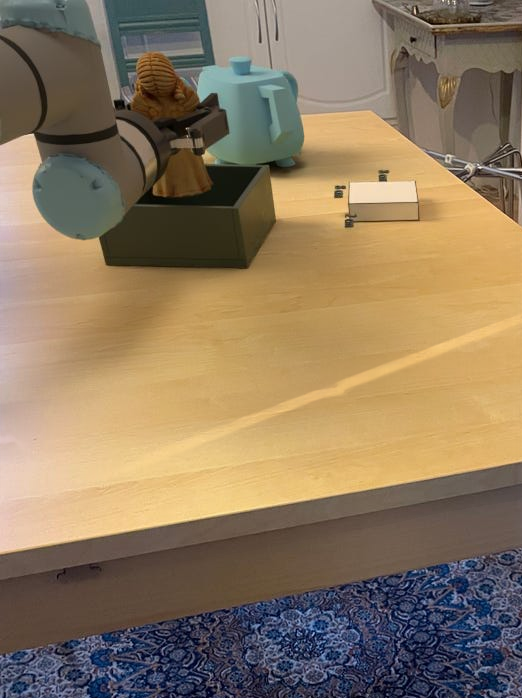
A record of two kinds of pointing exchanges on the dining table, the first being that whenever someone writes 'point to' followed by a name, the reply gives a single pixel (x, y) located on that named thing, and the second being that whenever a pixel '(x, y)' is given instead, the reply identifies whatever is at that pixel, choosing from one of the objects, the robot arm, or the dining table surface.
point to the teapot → (254, 113)
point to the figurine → (171, 101)
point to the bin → (197, 223)
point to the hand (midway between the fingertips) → (182, 104)
